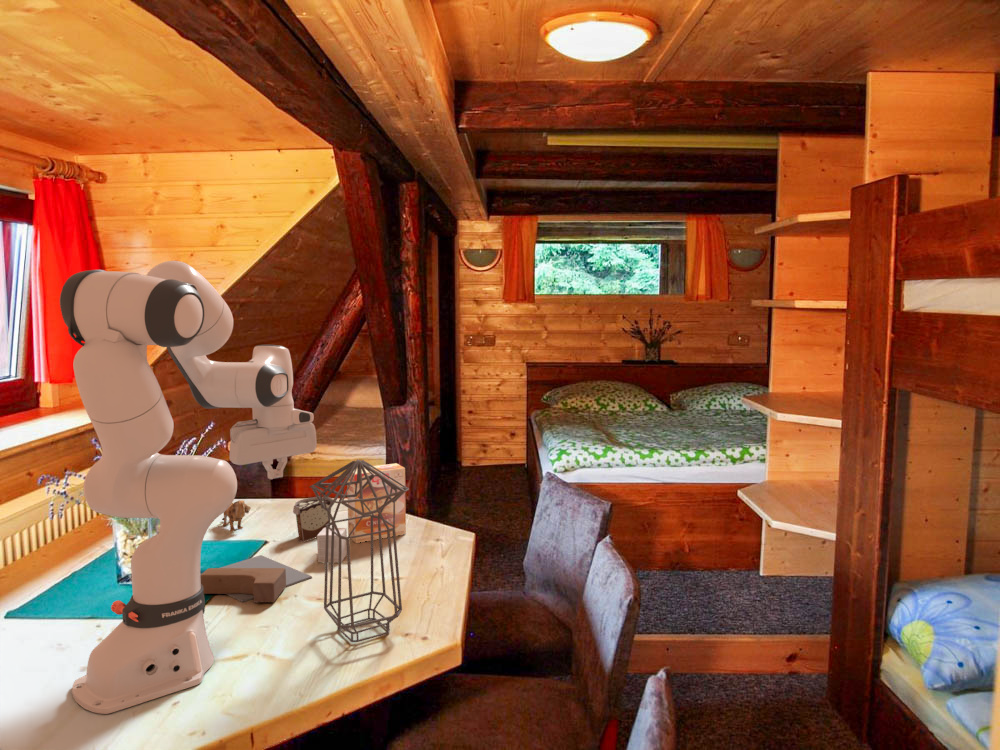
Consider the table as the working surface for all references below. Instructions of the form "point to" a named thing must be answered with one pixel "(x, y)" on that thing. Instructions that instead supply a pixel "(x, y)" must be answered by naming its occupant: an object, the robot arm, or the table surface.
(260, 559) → the mat
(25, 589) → the table surface
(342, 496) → the geometric lantern
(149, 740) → the table surface
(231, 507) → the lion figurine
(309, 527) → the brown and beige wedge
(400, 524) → the coffeecake box
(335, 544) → the product box
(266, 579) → the wooden block
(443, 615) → the table surface
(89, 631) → the table surface
